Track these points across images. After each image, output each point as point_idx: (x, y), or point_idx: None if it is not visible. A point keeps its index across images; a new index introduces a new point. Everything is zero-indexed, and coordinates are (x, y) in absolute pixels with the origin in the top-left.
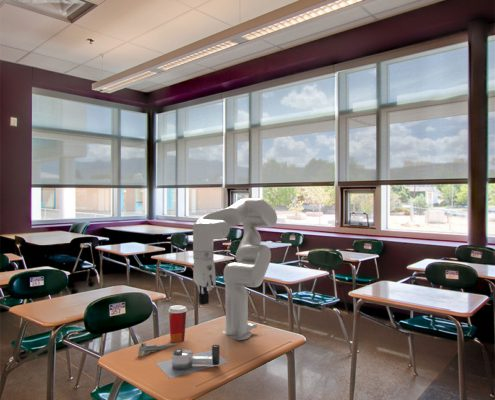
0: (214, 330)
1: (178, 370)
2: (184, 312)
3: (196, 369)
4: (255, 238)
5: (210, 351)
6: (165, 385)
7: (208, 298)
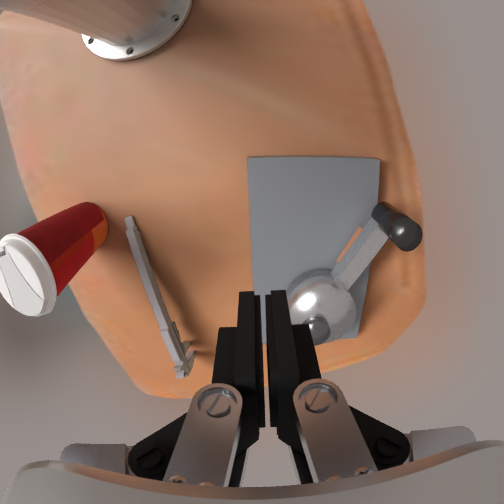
0: (55, 75)
1: None
2: (43, 255)
3: None
4: None
5: (261, 169)
6: (357, 338)
7: (290, 320)
